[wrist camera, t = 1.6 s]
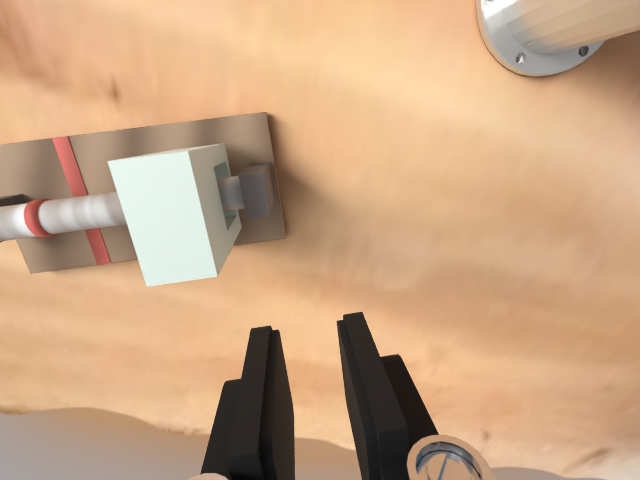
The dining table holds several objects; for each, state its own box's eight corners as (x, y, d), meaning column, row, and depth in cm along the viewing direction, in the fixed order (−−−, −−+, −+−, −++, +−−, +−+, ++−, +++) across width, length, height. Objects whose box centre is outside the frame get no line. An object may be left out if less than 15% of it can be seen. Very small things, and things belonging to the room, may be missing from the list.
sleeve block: (224, 143, 27) (187, 151, 17) (241, 227, 29) (217, 276, 19) (173, 149, 27) (107, 161, 17) (194, 234, 29) (146, 286, 19)
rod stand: (266, 112, 29) (258, 106, 21) (285, 234, 32) (284, 268, 24) (-11, 146, 28) (-131, 153, 20) (39, 268, 31) (-45, 315, 23)
